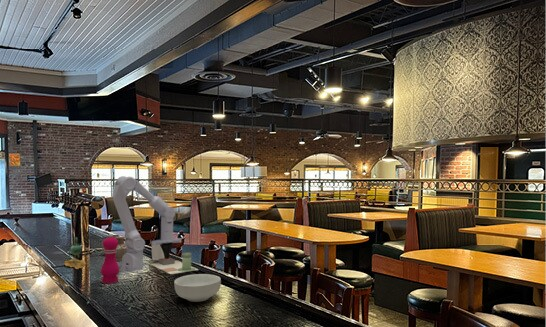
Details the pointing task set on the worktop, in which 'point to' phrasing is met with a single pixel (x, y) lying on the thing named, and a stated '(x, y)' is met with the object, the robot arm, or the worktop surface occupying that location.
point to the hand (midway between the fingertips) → (166, 258)
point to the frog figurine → (75, 251)
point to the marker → (186, 261)
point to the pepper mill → (110, 260)
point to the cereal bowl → (197, 286)
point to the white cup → (157, 252)
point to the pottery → (119, 247)
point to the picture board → (171, 266)
